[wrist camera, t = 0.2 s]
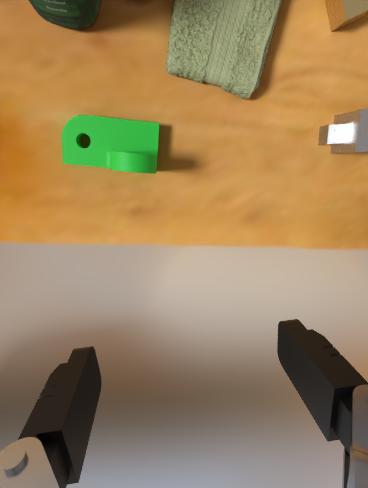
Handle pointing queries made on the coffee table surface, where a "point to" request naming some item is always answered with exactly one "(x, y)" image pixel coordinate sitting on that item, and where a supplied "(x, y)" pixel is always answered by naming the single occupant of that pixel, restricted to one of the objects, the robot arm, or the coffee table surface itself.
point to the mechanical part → (111, 143)
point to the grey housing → (347, 133)
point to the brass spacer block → (345, 11)
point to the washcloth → (222, 42)
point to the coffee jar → (68, 12)
